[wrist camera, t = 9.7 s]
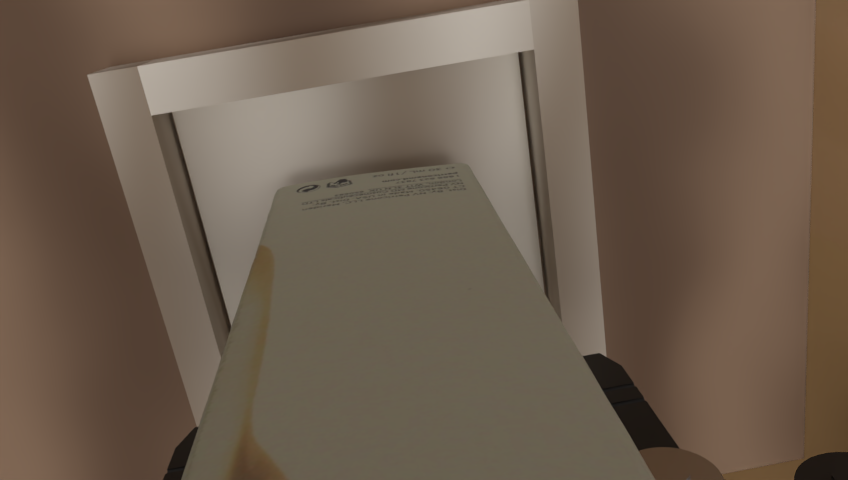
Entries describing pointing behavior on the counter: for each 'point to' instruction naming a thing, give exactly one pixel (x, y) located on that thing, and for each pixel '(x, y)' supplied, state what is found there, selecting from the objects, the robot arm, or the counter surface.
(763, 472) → the counter surface
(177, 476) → the robot arm
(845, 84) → the counter surface
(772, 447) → the display stand
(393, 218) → the skincare box
